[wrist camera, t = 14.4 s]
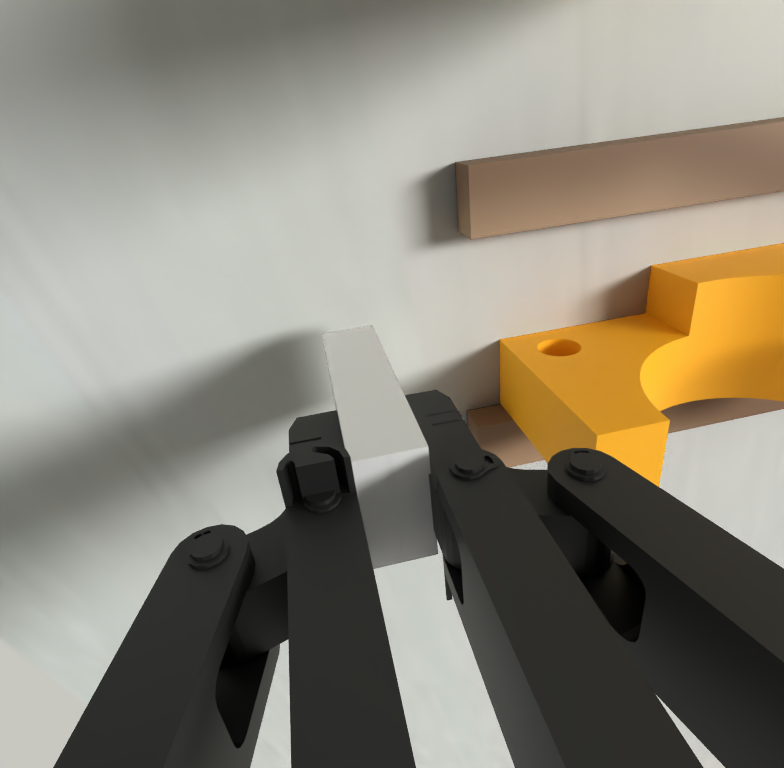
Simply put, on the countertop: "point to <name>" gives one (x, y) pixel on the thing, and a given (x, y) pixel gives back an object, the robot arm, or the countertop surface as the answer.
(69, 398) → the countertop surface
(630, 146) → the channel
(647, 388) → the pipe clamp
